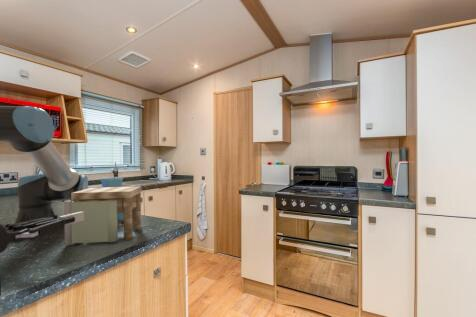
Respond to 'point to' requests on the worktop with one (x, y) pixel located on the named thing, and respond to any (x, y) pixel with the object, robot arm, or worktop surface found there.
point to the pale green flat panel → (92, 222)
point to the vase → (113, 183)
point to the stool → (125, 203)
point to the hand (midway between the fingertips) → (82, 215)
